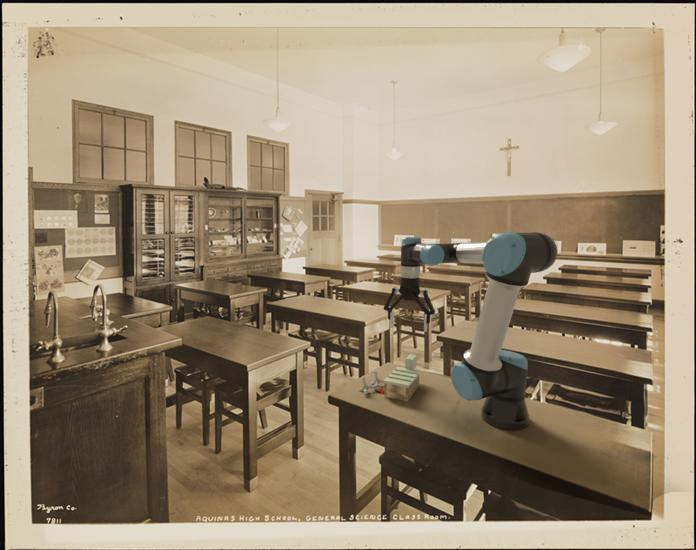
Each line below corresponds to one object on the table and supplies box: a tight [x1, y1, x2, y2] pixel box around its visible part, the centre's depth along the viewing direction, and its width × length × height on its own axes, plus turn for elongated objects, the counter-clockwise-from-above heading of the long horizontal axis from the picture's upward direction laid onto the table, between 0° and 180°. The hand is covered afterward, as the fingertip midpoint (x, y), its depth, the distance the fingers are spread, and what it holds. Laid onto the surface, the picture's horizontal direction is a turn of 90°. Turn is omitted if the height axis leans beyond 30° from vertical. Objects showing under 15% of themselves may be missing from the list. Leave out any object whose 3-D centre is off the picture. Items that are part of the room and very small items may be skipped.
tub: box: [383, 374, 420, 403], centre depth 157 cm, size 9×15×6 cm, turn 155°
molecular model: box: [357, 370, 385, 395], centre depth 158 cm, size 14×8×10 cm
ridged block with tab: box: [383, 353, 421, 388], centre depth 159 cm, size 10×22×5 cm, turn 155°
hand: (408, 329), depth 162 cm, fingers open, 13 cm apart
